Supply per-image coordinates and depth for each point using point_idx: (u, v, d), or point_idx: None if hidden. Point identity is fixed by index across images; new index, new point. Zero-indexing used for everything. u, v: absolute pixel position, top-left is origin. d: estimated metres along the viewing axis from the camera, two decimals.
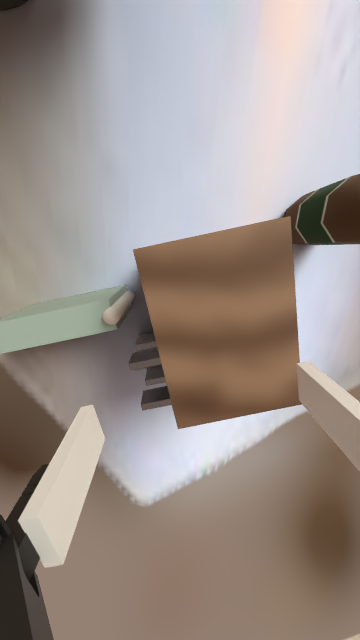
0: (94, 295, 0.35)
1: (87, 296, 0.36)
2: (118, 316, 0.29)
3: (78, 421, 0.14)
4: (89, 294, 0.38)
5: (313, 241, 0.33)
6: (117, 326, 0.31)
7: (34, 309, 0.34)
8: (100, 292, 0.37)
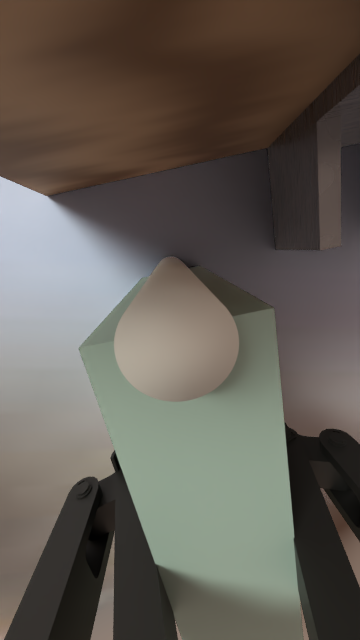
0: None
1: None
2: (174, 293, 0.04)
3: None
4: None
5: None
6: (253, 305, 0.05)
7: None
8: None
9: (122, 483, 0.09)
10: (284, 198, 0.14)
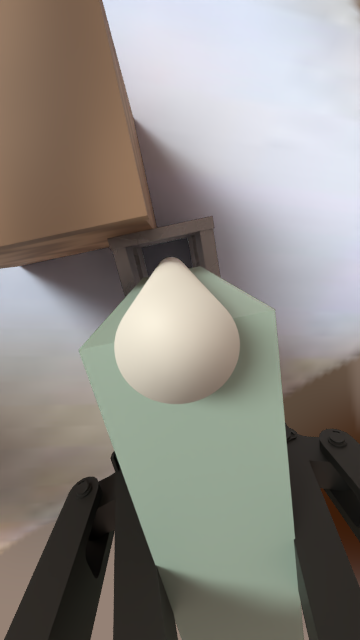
0: None
1: None
2: (175, 295, 0.04)
3: None
4: None
5: None
6: (254, 307, 0.05)
7: None
8: None
9: (122, 483, 0.09)
10: None
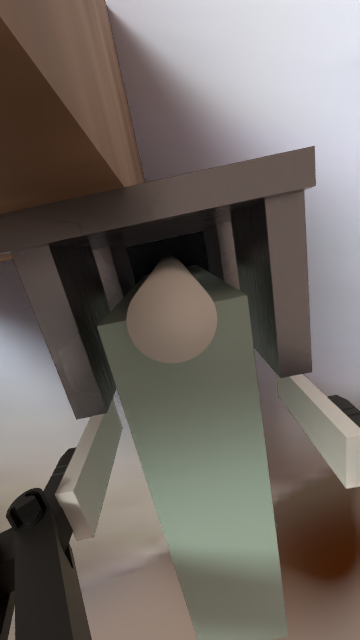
0: None
1: None
2: (170, 282, 0.05)
3: None
4: None
5: None
6: (232, 294, 0.07)
7: None
8: None
9: (23, 540, 0.08)
10: None
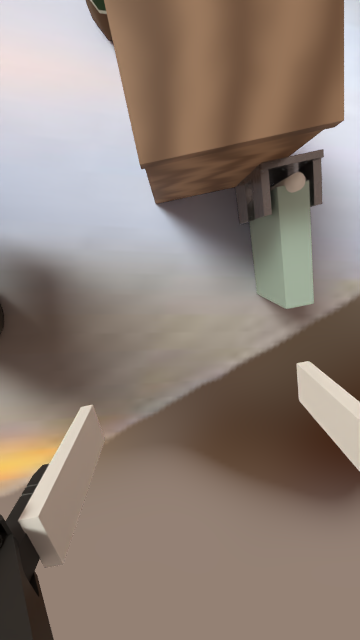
0: (261, 223, 0.37)
1: (260, 232, 0.38)
2: (298, 173, 0.29)
3: (78, 421, 0.14)
4: (256, 235, 0.40)
5: None
6: (305, 181, 0.30)
7: (269, 277, 0.38)
8: (256, 222, 0.39)
9: None
10: (240, 205, 0.40)
